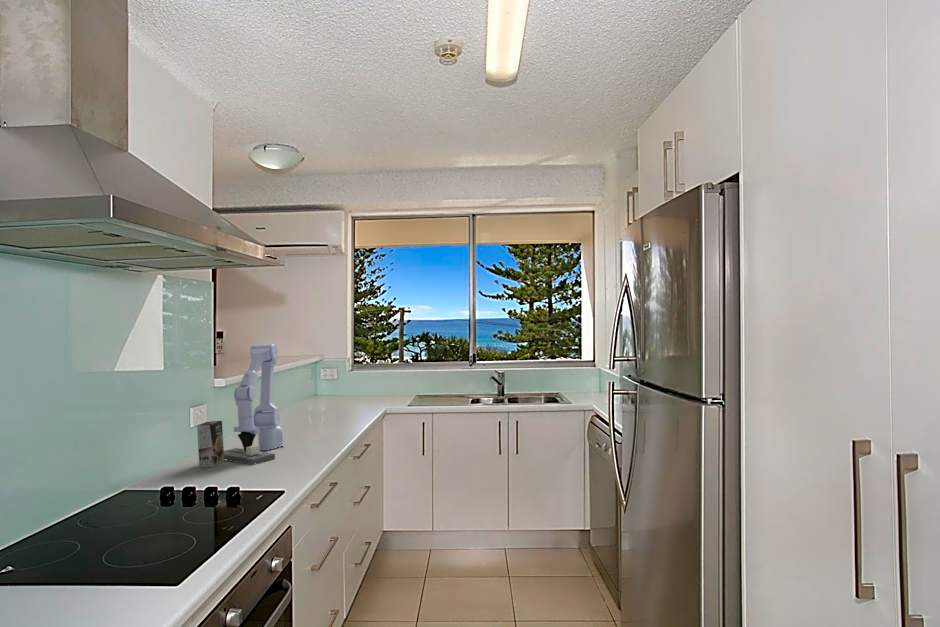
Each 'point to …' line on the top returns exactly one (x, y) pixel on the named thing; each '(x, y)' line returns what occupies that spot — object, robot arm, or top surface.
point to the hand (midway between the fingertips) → (247, 451)
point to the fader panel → (247, 456)
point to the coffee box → (210, 444)
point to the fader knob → (253, 450)
